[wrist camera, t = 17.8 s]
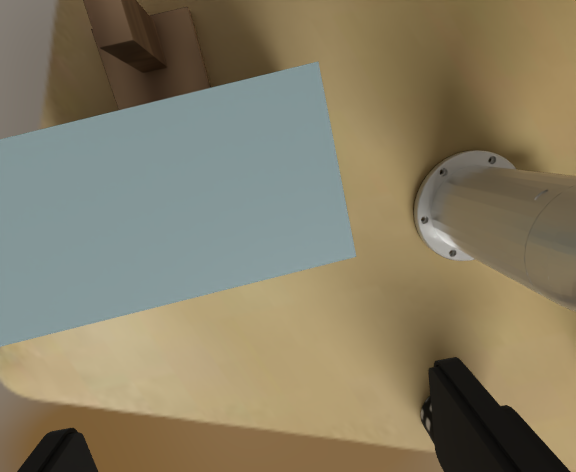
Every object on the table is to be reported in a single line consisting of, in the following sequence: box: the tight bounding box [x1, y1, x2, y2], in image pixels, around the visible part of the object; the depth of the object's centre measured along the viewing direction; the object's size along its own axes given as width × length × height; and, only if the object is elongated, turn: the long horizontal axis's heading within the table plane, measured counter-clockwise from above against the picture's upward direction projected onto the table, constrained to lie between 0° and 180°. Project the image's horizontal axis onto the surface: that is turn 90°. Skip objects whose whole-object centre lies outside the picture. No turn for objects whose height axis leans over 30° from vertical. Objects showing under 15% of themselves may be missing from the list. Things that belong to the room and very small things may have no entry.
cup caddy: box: [83, 0, 210, 110], centre depth 30 cm, size 9×14×11 cm, turn 13°
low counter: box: [0, 62, 356, 347], centre depth 30 cm, size 24×12×17 cm, turn 103°
